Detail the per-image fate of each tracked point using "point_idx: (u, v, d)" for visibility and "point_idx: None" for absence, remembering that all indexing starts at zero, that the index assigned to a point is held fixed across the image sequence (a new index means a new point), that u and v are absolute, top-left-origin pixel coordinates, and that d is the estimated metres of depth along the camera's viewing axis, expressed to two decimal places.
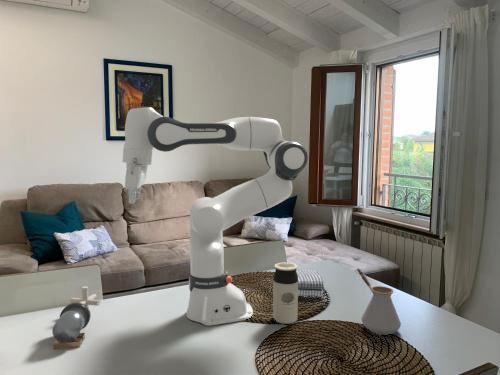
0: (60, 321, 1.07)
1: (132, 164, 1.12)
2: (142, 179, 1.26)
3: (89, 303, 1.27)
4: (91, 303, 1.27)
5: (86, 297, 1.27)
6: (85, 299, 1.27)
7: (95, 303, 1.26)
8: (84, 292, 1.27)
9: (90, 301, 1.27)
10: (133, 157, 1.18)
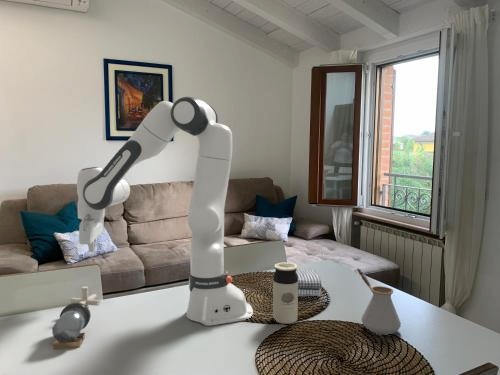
0: (60, 321, 1.07)
1: (83, 222, 1.27)
2: (98, 230, 1.41)
3: (89, 303, 1.27)
4: (91, 303, 1.27)
5: (86, 297, 1.27)
6: (85, 299, 1.27)
7: (95, 303, 1.26)
8: (84, 292, 1.27)
9: (90, 301, 1.27)
10: (86, 214, 1.33)
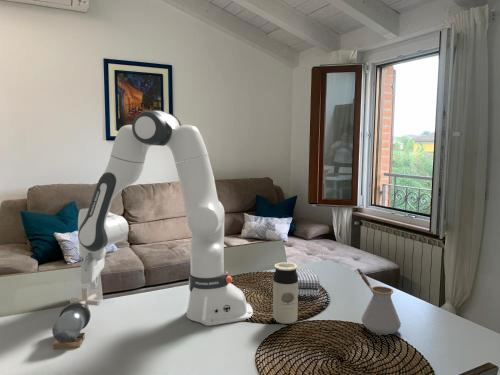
0: (60, 321, 1.07)
1: (85, 262, 1.28)
2: (100, 266, 1.42)
3: (89, 303, 1.27)
4: (91, 303, 1.27)
5: (86, 297, 1.27)
6: (85, 299, 1.27)
7: (95, 303, 1.26)
8: (84, 292, 1.27)
9: (90, 301, 1.27)
10: (87, 252, 1.34)
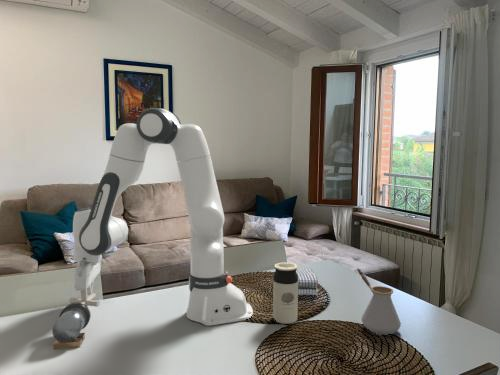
0: (60, 321, 1.07)
1: (79, 268, 1.22)
2: (95, 271, 1.36)
3: (88, 304, 1.26)
4: (90, 304, 1.26)
5: (85, 298, 1.27)
6: (84, 300, 1.26)
7: (94, 304, 1.26)
8: (83, 293, 1.26)
9: (89, 302, 1.26)
10: (82, 257, 1.27)
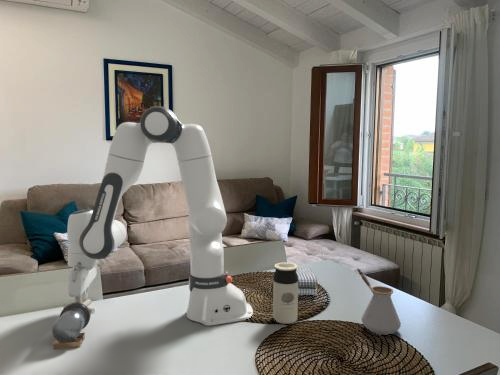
0: (60, 321, 1.07)
1: (73, 273, 1.16)
2: (91, 276, 1.30)
3: None
4: None
5: None
6: None
7: None
8: (77, 300, 1.20)
9: None
10: (76, 261, 1.22)
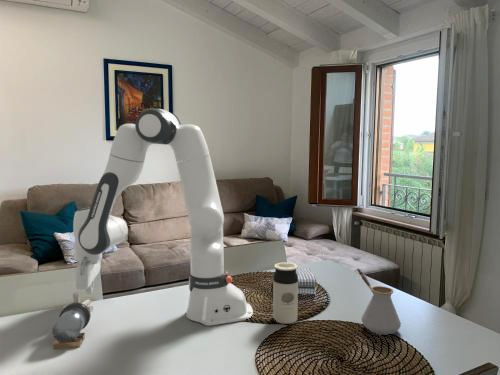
0: (60, 321, 1.07)
1: (80, 267, 1.23)
2: (96, 270, 1.37)
3: None
4: None
5: None
6: None
7: None
8: (75, 299, 1.21)
9: None
10: (83, 256, 1.29)
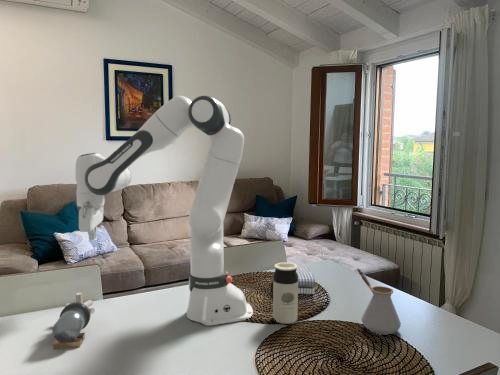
0: (60, 321, 1.07)
1: (83, 209, 1.24)
2: (98, 218, 1.38)
3: None
4: None
5: None
6: None
7: None
8: (78, 299, 1.21)
9: None
10: (85, 201, 1.29)
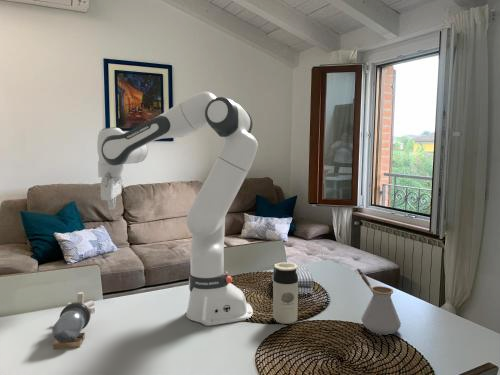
0: (60, 321, 1.07)
1: (105, 178, 1.33)
2: (117, 189, 1.46)
3: None
4: None
5: None
6: None
7: None
8: (79, 298, 1.22)
9: None
10: (106, 172, 1.38)
